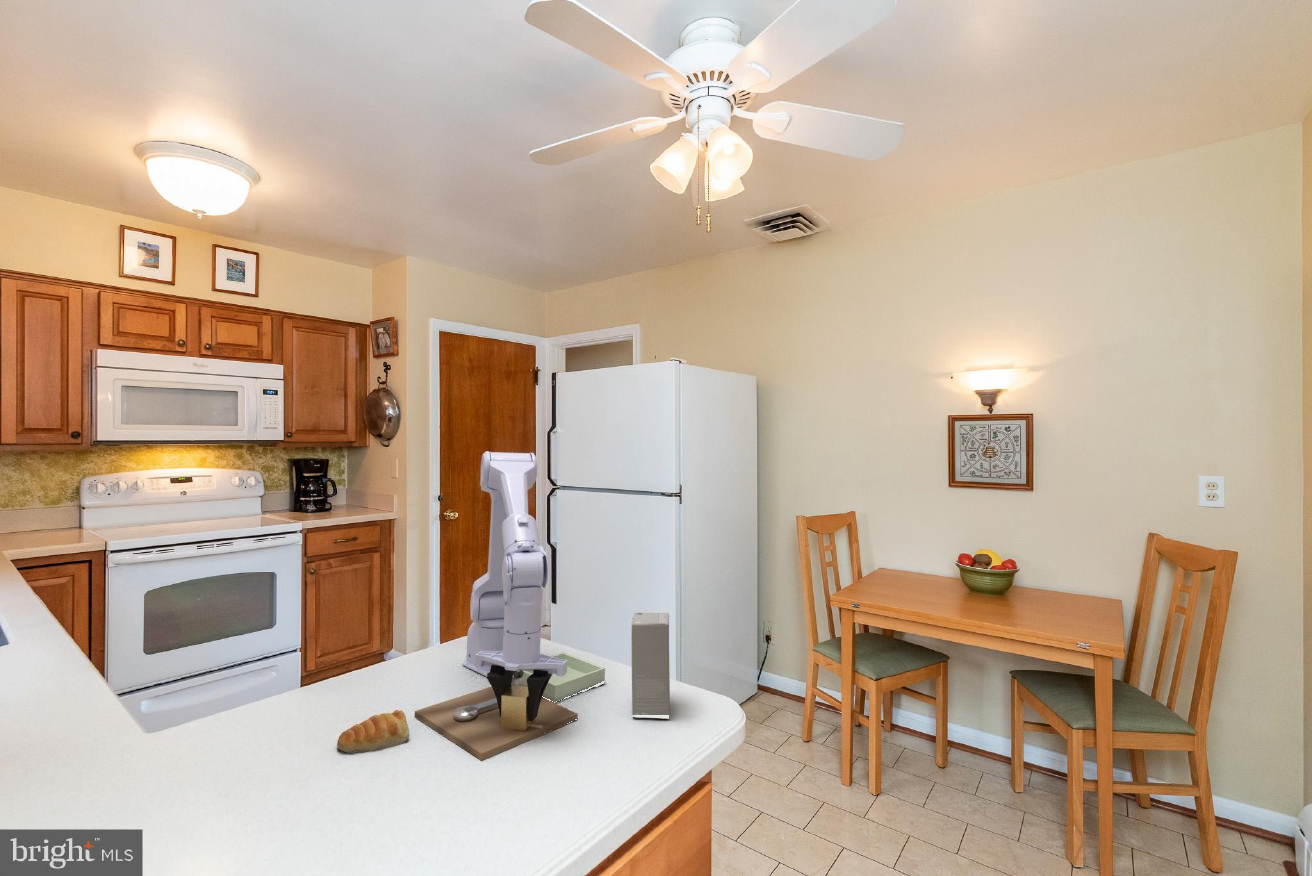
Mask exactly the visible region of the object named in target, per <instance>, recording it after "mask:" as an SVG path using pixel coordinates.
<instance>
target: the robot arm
mask: <svg viewBox="0 0 1312 876" xmlns="http://www.w3.org/2000/svg"><path fill="white" fill-rule="evenodd" d="M537 477H538V458H537V455H535V453H534V452H529V453H527V452H526V453H525V452H500V451H499V452H496V451H494V452H493V451H487V450H486V451H484V453H483V454H482V456H481V460H480V482H479V486H480V487H481V488H480V490H481V491H483V492H485V493H489V496H490V499H491V503H490V504H491V506H490V507H491V508H490V525H489V543H488V544H489V546H488V564H487V572H486V573H485V574H483V575H482V576H480V577H479V578H477V579H476V580H475V581H474V582H473V584H472V588H471V589H472V590H471V591H472V592H471V595H470V607H469V608H470V620H471V621H472V623H470V624H471V625H470V626H469V628H468V630H467V635H466V637H467V640H466V656H465V657H466V659H465V660H466V661H463V662H462V663H461V664H462V666H463V667H465V668H468V669H470V670H471V671H475V672H476V673H478V674H480V675H482V676H484V677H486V679H487V681H488V683H489V684H490V687H491V686H492V688H493V691H494V693H495V696H496V699H497V703H498V707H499V712H500V717H501V705H502V695H503V694H504V693H505V692H506V691H507V690H508V689H509V688H510V687H511V685H512V678H513V672H514V671H517V670H524V671H533V674H531V675H530V676H529V677H528V678H527V685H528V694H529V706H528V721H533V720H534V719H535V718H536V717H537V714H538V709H539V705H540V702H541V699H542V696H543V693H544V691H545V688H546V686H547V684H548V682H549V680H550V678H551V676H552V674H557V676H561V677H563V676H564V675H565V674H566V673H567V660H564V659H558V658H555V657H551V656H552V655H547V654H543V653H541V637H542V615H543V613H542V612H543V611H542V610H543V588H546V586H547V584H548V578H549V563H548V562H549V561H548V556H547V555H548V554H547V552H546V551H545V549H544V546H543V545H540V538H539V532H538V525H537V520H536V519H535V518H534V517H533V516H532V515H530V514H529V496H528V494H529V493H528V492H529V490H530V489H532V488H533V487H534V484H535V483H536V481H537Z"/></svg>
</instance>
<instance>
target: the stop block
mask: <svg viewBox="0 0 1312 876" xmlns="http://www.w3.org/2000/svg"><path fill="white" fill-rule="evenodd" d="M528 706H529V694H528V687H524V686H512V687H510V688H509V689H508V690H507V691H506V692H505V693H504V694H503V695H502V705H501V728H503V729H512V730H522V731H526V730H527V729H528V728H529V727H530V725H531V724H532V723H533V722H534V721H535V720H536V718H535V719H534V720H533V721H528Z"/></svg>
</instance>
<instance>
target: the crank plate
mask: <svg viewBox="0 0 1312 876" xmlns="http://www.w3.org/2000/svg"><path fill="white" fill-rule="evenodd" d="M495 698H496V696H495V693H494V691H493V688H492V686H491V685H490V686H488V687H486V688H483V689H480V690H479V689H478V690H475V691H474V692H471V693H467V694H464V695H460V696H457V697H454V698H451V699H449V700H445V701H442V702H439V703H436V704H432V705H429V706H426V707H424V708H420V709H417V710H415V711H414V718H415V719H416V720H418V722H419V721H420V722H421V723H422V724H424V725H425V726H427V727H429V728H430V729H432V730H433V731H435V732H436V733H438V734H440V735H441V736H442V737H444V738H445V739H448V740H449V741H450V742H452V743H454V744H456V746H458V747H460V748H461V749H463V750H465V752H468V753H469V754H470V755H472V756H474V757H475V758H476V759H478V760H480V761H484V760H487V759H489V758H491V757H493V756H496V755H499V754H500V753H503V752H506V751H508V750H510V749H512V748H515V747H517V746H519V745H521V744H524V743H527V742H528V741H529V742H530V741H531V740H534V739H537V738H538V737H541V736H543V735H545V734H544V733H546V734H548V733H550V732H552V731H551V730H553V731H556V730H557V729H559V727H560V728H562V727H564V726H563V725H565V724H567V723H569V722H571V721H574V720H575V719H577V720H578V713H577V712H575V711H572V710H570V709H568V708H566V707H564V706H562V705H560V704H557V703H554V702H552V701H549V700H547V699H545V698H543V697H542V699H541V702H540V705H539V709H538V714H537V717H536V720H535V721H534V722H533V723H532V724H531V725H530V727H529V728H528V729H527V730H526V731H522V730H512V729H503V728H501V717H500V712H499V707H497V708H494V709H491V710H488V711H485V712H482V713H480V714H477V717H476V718H474V719H472V720H468V721H458V720H455V719H454V718H453V715H454V710H455V709H457V708H459V707H463V706H474V705H477V704H480V703H483V702H486V701H489V700H492V699H495ZM574 722H575V721H574ZM569 724H570V723H569ZM567 725H568V724H567ZM561 726H562V727H561ZM565 726H566V725H565ZM556 728H557V729H556ZM549 731H550V732H549ZM533 738H534V739H533Z"/></svg>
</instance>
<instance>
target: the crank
mask: <svg viewBox="0 0 1312 876" xmlns="http://www.w3.org/2000/svg"><path fill="white" fill-rule="evenodd" d="M523 675H524V671H523V670H517V671H514V672H513V678H512V685H511V687H512V686H520V681H521V678H522V677H523ZM497 707H498V703H497V699H496V698H495V699H492V700H489V701H486V702H483V703H480V704H477V705H474V706H463V707H459V708H457V709H455V710H454V715H453V718H454V719H455V720H458V721H468V720H472V719H474V718H476V717H477V714H480V713H482V712H485V711H488V710H491V709H494V708H497Z"/></svg>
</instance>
